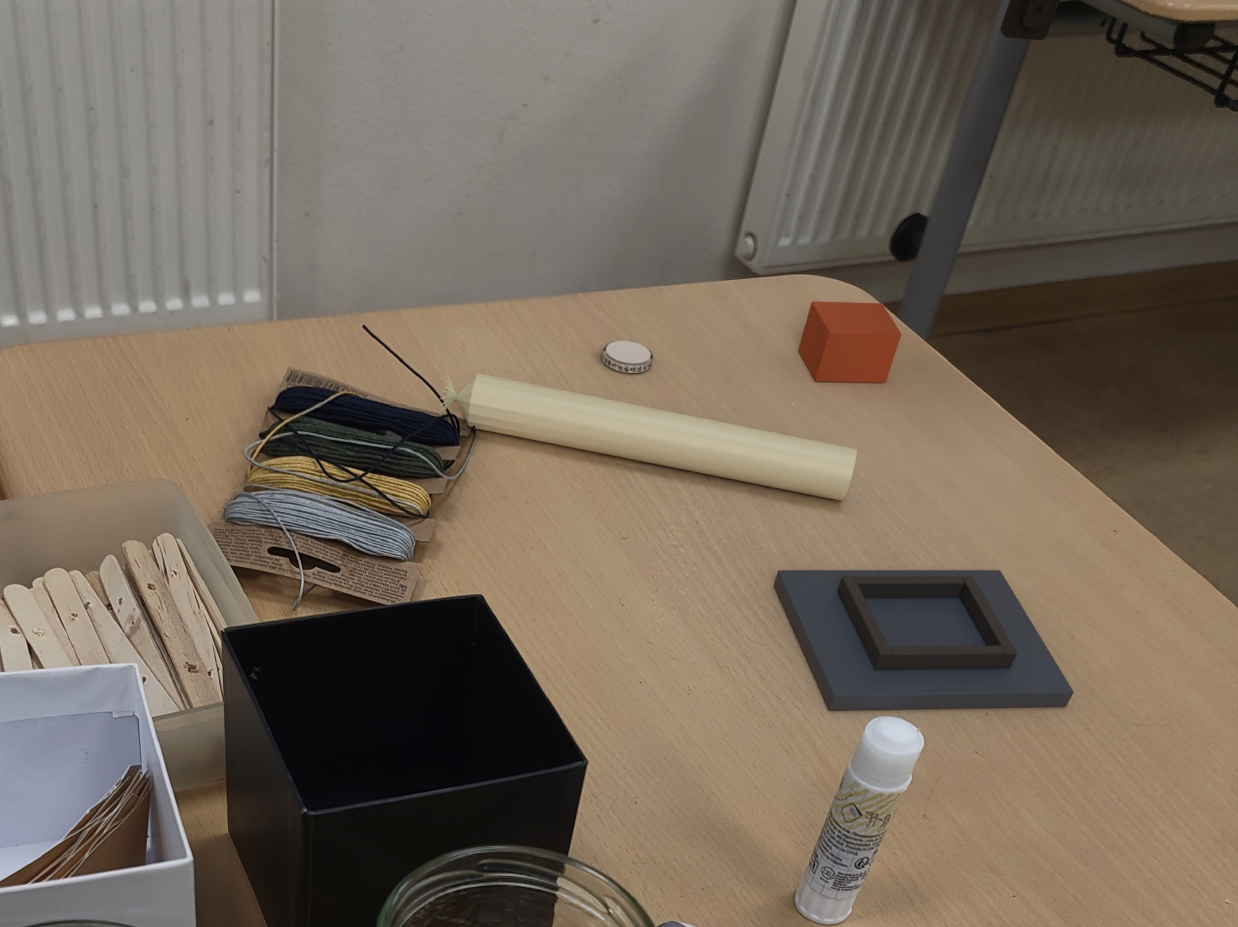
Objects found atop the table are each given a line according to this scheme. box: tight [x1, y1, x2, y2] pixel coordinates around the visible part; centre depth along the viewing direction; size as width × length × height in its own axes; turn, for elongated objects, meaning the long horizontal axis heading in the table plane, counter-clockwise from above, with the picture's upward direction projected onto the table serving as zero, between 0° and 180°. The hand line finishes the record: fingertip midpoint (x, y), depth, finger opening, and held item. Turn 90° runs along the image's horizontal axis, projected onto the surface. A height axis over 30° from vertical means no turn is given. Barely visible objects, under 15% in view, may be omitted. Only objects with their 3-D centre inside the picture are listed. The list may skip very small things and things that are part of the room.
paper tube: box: [438, 370, 858, 502], centre depth 104 cm, size 4×30×4 cm, turn 78°
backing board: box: [773, 569, 1075, 711], centre depth 94 cm, size 16×13×2 cm
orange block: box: [797, 300, 902, 384], centre depth 116 cm, size 6×5×4 cm
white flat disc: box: [601, 339, 654, 374], centre depth 114 cm, size 4×4×1 cm
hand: (996, 9), depth 99 cm, fingers open, 9 cm apart
